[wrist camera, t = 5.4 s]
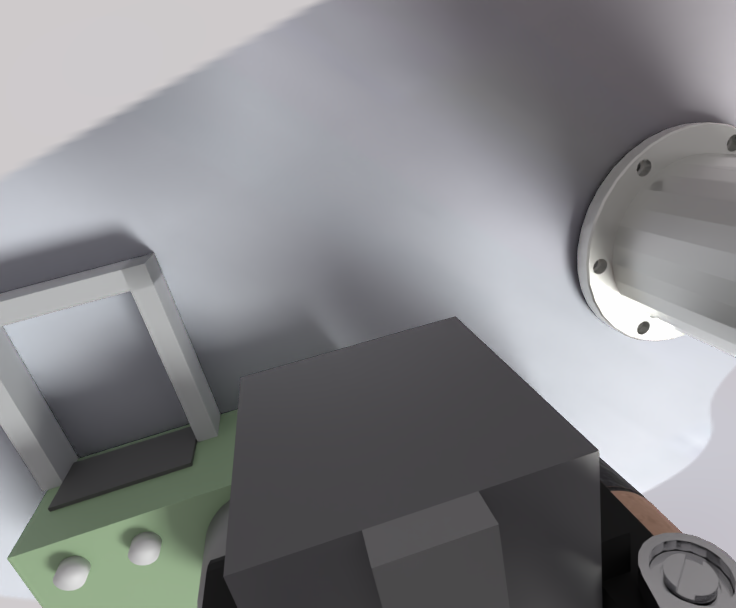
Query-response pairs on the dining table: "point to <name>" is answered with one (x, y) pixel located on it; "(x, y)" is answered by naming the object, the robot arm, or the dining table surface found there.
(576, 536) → the ridged grey block
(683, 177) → the robot arm
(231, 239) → the dining table surface
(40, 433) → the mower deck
